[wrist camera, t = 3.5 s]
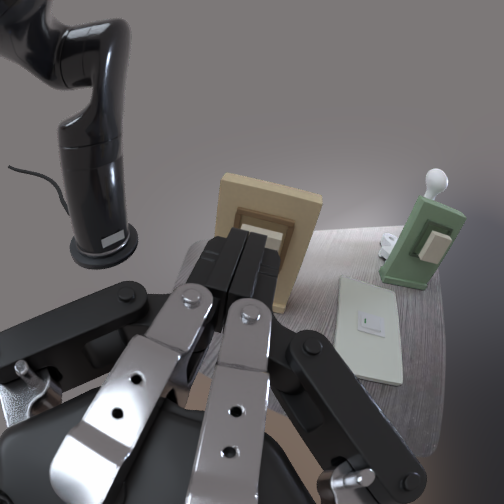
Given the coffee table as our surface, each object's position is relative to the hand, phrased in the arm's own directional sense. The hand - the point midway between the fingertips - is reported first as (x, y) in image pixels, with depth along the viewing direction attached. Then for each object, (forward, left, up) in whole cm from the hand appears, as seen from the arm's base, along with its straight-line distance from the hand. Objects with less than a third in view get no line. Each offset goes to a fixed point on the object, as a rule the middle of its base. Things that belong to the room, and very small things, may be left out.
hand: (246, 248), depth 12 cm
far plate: (+13, +35, -20) cm, 42 cm away
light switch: (+9, +21, -20) cm, 30 cm away
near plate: (-7, +14, -20) cm, 25 cm away
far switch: (+14, +34, -12) cm, 38 cm away
